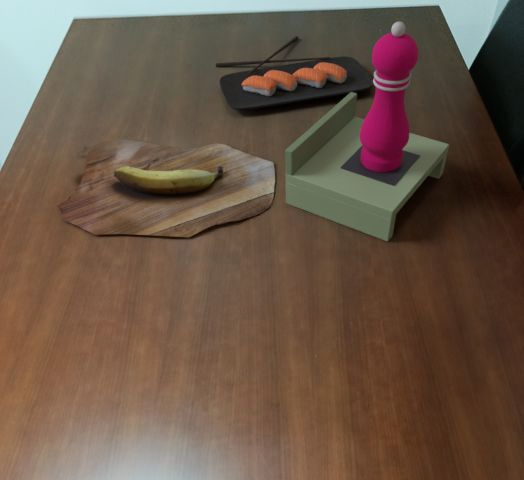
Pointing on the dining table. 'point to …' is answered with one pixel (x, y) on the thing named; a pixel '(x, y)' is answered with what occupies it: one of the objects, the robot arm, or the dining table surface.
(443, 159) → the shelf
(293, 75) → the sushi plate
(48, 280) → the dining table surface
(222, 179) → the cutting board
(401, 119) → the pepper mill
